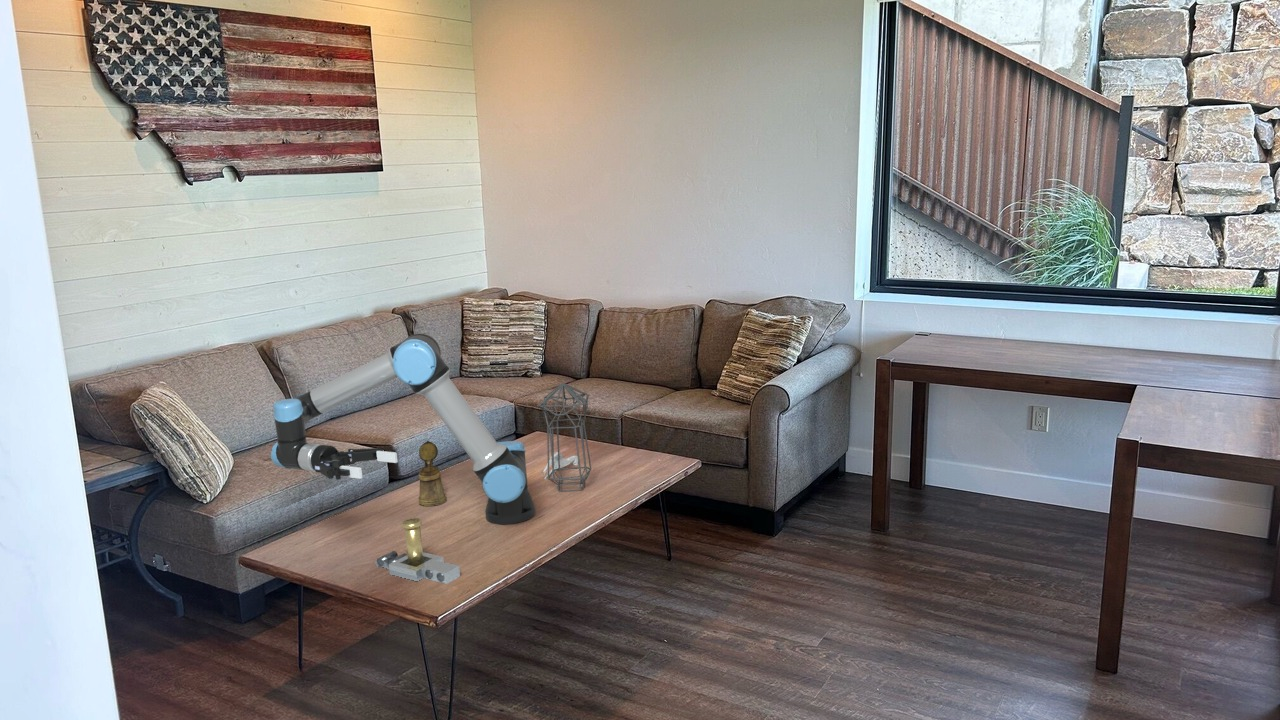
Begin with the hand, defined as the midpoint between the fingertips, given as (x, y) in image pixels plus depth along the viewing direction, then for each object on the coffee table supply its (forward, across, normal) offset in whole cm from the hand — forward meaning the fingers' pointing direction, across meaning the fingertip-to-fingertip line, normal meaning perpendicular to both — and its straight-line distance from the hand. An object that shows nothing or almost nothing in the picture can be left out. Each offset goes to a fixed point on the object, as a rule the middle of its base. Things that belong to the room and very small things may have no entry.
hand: (379, 465), depth 246 cm
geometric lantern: (+14, -72, -29) cm, 78 cm away
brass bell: (-22, -46, -28) cm, 59 cm away
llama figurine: (+4, -84, -29) cm, 88 cm away
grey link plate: (+10, +1, -28) cm, 30 cm away
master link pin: (+10, +1, -28) cm, 30 cm away
